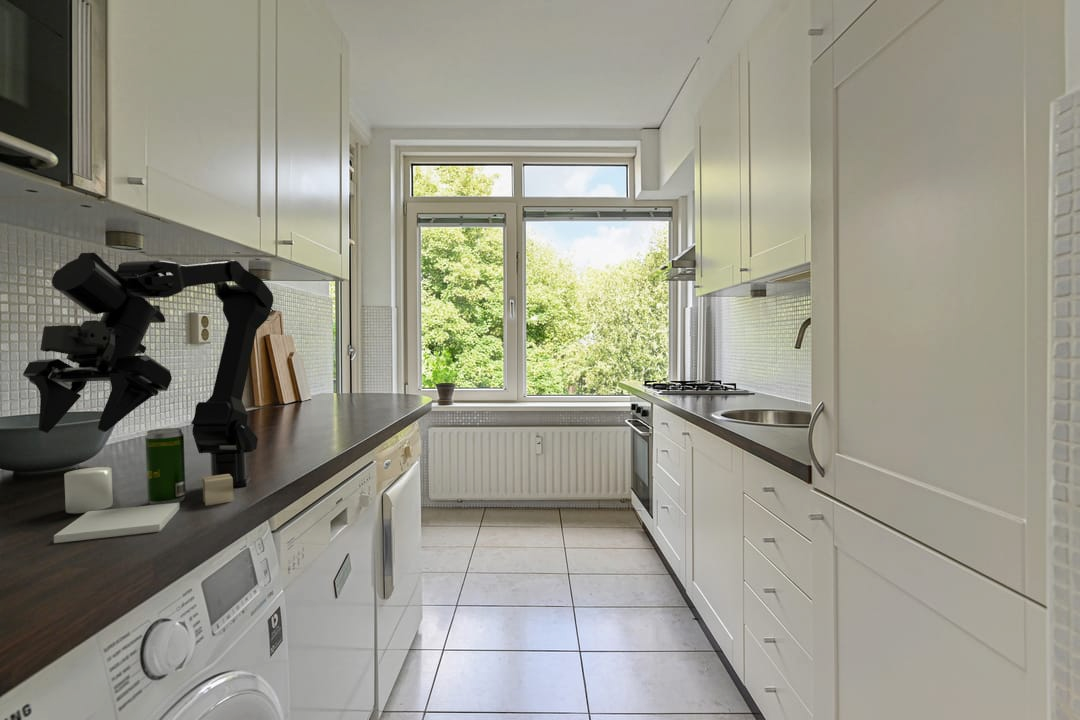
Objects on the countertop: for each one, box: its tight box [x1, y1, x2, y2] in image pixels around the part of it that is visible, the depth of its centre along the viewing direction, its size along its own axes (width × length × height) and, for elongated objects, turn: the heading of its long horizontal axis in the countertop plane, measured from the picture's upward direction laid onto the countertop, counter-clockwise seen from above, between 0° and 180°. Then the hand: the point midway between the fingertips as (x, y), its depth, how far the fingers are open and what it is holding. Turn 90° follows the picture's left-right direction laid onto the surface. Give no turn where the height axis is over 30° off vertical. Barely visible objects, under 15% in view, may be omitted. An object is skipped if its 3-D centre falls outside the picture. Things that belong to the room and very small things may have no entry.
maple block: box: [202, 474, 234, 506], centre depth 96 cm, size 4×4×4 cm
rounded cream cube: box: [63, 466, 114, 514], centre depth 93 cm, size 6×6×6 cm
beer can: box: [144, 427, 187, 505], centre depth 96 cm, size 5×5×12 cm
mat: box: [53, 502, 181, 544], centre depth 84 cm, size 12×12×1 cm
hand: (71, 431), depth 77 cm, fingers open, 9 cm apart
